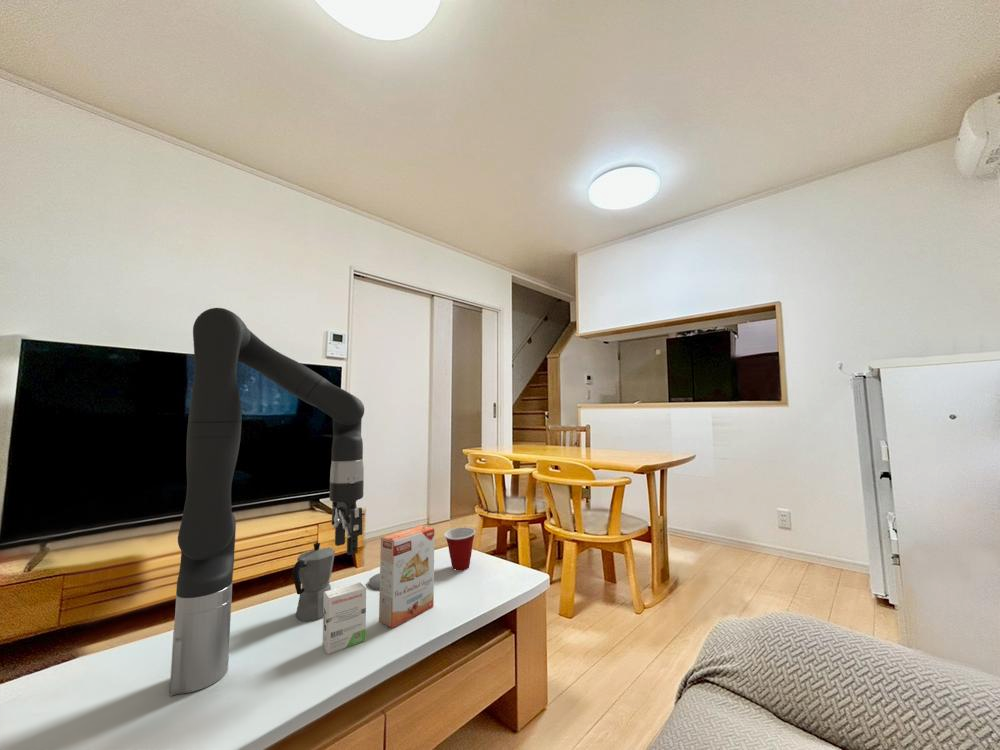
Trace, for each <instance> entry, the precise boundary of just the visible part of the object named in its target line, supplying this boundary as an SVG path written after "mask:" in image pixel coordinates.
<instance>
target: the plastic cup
mask: <svg viewBox="0 0 1000 750" xmlns="http://www.w3.org/2000/svg"><path fill="white" fill-rule="evenodd" d="M443 534H444V537H445V540H446V542H447V546H448V553H449V558H450V561H451V562H450V563H451V567H453V568H452V569H453V570H454V569H456V570H455V571H457V570H462V571H465V570H464V569H466V570H468V569H469V568H470V564H471V557H472V553H473V544H474V538H475V534H476V529H475V528H473V527H468V526H467V527H466V526H462V527H461V526H460V527H455V528H450V529H449V530H447V531H445V532H444V533H443ZM467 568H468V569H467Z"/></svg>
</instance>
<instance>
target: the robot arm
mask: <svg viewBox="0 0 1000 750" xmlns="http://www.w3.org/2000/svg"><path fill="white" fill-rule="evenodd" d="M192 339H193V355H194V356H193V357H194V359H193V360H194V376H193V381H192V382H193V383H192V388H191V394H190V403H189V411H188V412H189V413H188V420H187V422H188V423H187V432H186V456H185V457H186V459H185V460H186V496H185V502H184V505H183V506H184V508H183V511H182V512H183V513H182V517H181V521H180V526H179V529H178V534H177V535H178V536H177V544H178V547H179V549H180V551H181V553H180V565H179V571H178V576H177V580H176V581H177V582H176V593H175V595H176V596H175V609H174V610H175V611H174V612H175V613H174V624H173V626H174V627H173V633H172V634H173V635H172V645H171V646H172V650H171V660H170V661H171V663H170V664H171V666H170V681H169V686H170V687H169V696H170V697H171V696H174V695H177V694H178V695H179V694H188V693H193V692H197V691H200V690H202V689H205V688H207V687H210V686H212V685H213V684H215V683H217V682H218V681H220V680H221V679H223V677H224V676H225V675H226V674H227V673H228V671H229V661H230V660H229V658H230V656H229V655H230V654H229V653H230V639H231V638H230V635H231V634H230V633H231V615H232V597H233V596H232V595H233V578H234V564H235V547H236V546H235V545H236V529H237V525H236V524H237V522H236V517H235V515H234V513H233V511H232V485H233V484H232V483H233V478H234V473H235V469H236V466H237V462H238V457H239V451H240V445H241V444H240V443H241V437H242V436H241V435H242V419H243V417H242V415H243V414H242V413H243V412H242V403H241V397H240V391H239V385H238V375H237V373H238V362H239V363H240V364H243V365H245V366H247V367H249V368H251V369H253V370H255V371H256V372H258V373H259V374H261V375H263V376H264V377H266V378H267V379H269V380H270V381H272V382H273V383H275V384H276V385H278V386H279V387H280V388H282V389H284V390H285V391H286V392H287V393H289V394H291V395H292V396H294V397H296V398H297V399H299V400H301V401H302V402H304V403H306V404H309V405H310V406H312V407H315V408H318V410H320V411H321V412H323V413H324V414H326V415H328V416H329V417H330V418H331V419H332V436H333V437H332V444H331V465H330V472H329V474H330V475H329V476H330V477H329V501H330V502H331V505H332V506H331V525H332V526H333V529H334V545H335V546H337V547H340V546H343V545H345V544H346V554H347V555H348V556H351V555H356V554H358V548H359V547H358V546H359V539H358V537H359V536H362V535H363V508H362V507H357V501H358V500H361V499H363V497H364V474H365V473H364V470H365V469H364V459H363V458H364V457H363V455H364V454H363V453H364V451H363V450H364V444H363V443H364V442H363V437H362V420H363V417H364V415H365V406H364V403H363V402H362V400H360V399H359V397H357V396H356V395H353V394H351V393H350V392H348V391H346V390H345V389H343V388H341V387H339V386H337V385H335V384H333V383H331V382H330V381H329V380H328V379H326V378H325V377H323V376H322V375H320V374H319V373H318V372H316V371H314V370H312V369H311V368H309V367H307V366H306V365H304V364H302V363H300V362H298V361H296V360H295V359H292V358H290V357H288V356H287V355H285V354H284V353H281V352H279V351H278V350H277V349H274V348H273V347H271V346H270V345H268V344H267V343H266V342H264V341H263V340H261V339H260V338H259V337H258V336H257V335H255V333H253V332H252V331H251V330H250V329H249V328H248V327H247V325H246V324H245V322H244V320H242V319H241V317H240V316H238V315H237V314H236V313H234V312H233V311H231V310H229V309H226V308H222V307H212V308H209V309H206V310H204V311H202V312H201V313H200V314H198V316H197V317H196V319H195V321H194V323H193V327H192Z"/></svg>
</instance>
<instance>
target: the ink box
mask: <svg viewBox="0 0 1000 750" xmlns="http://www.w3.org/2000/svg"><path fill="white" fill-rule="evenodd" d="M366 615H367V588H366V587H365V586H364V585H363V584H362V583H361V582H356V583H352V584H349V585H344V586H342V587H338V588H332V589H331V590H329V591H325V592H324V603H323V618H322V646H323V649H324V651H325V653H326V654H327V655H329V654H332V653H335V652H338V651H340V650H344V649H346V648H349V647H351V646H354V645H357V644H360V643H363V642H366V637H367V636H366V630H367V629H366V627H367V625H366V624H367V623H366V622H367V620H366V619H367V618H366Z"/></svg>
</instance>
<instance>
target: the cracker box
mask: <svg viewBox="0 0 1000 750" xmlns="http://www.w3.org/2000/svg"><path fill="white" fill-rule="evenodd" d="M379 558H380V562H379V563H380V564H379V573H380V590H379V602H378V603H379V607H378V610H379V611H378V612H379V613H378V623H382V624H383V625H385V626H386V627H389V628H391V629H393V628H396V627H397V626H399V625H401V624H403V623H404V622H406V621H408V620H411V619H413V618H414V617H416V616H418V615H420V614H422V613H423V612H425V611H427V610H429V609H431V608H433V607H434V603H435V601H434V595H435V594H434V591H435V588H434V585H435V584H434V582H435V576H434V575H435V528H434V527H430V526H425V525H418V526H415V527H411V528H409V529H404V530H401V531H398V532H394V533H391V534H388V535H385V536H381V537H380V557H379Z"/></svg>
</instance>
